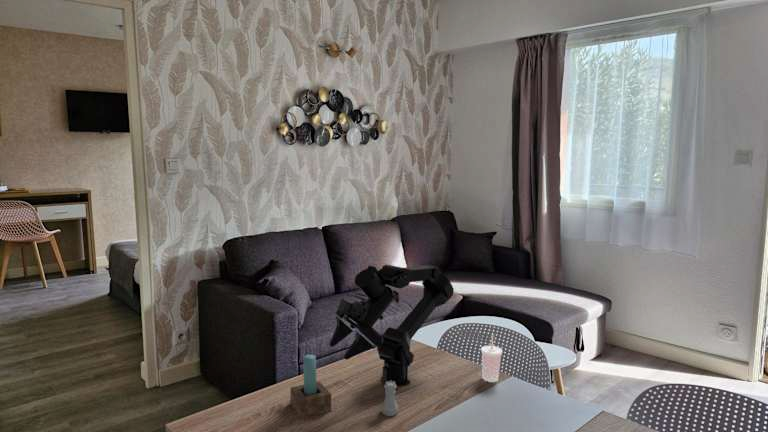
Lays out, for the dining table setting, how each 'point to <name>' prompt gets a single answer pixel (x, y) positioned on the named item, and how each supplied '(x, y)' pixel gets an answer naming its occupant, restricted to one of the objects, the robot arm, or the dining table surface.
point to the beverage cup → (491, 362)
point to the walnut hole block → (310, 400)
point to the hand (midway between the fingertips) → (337, 352)
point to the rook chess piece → (390, 400)
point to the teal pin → (309, 375)
